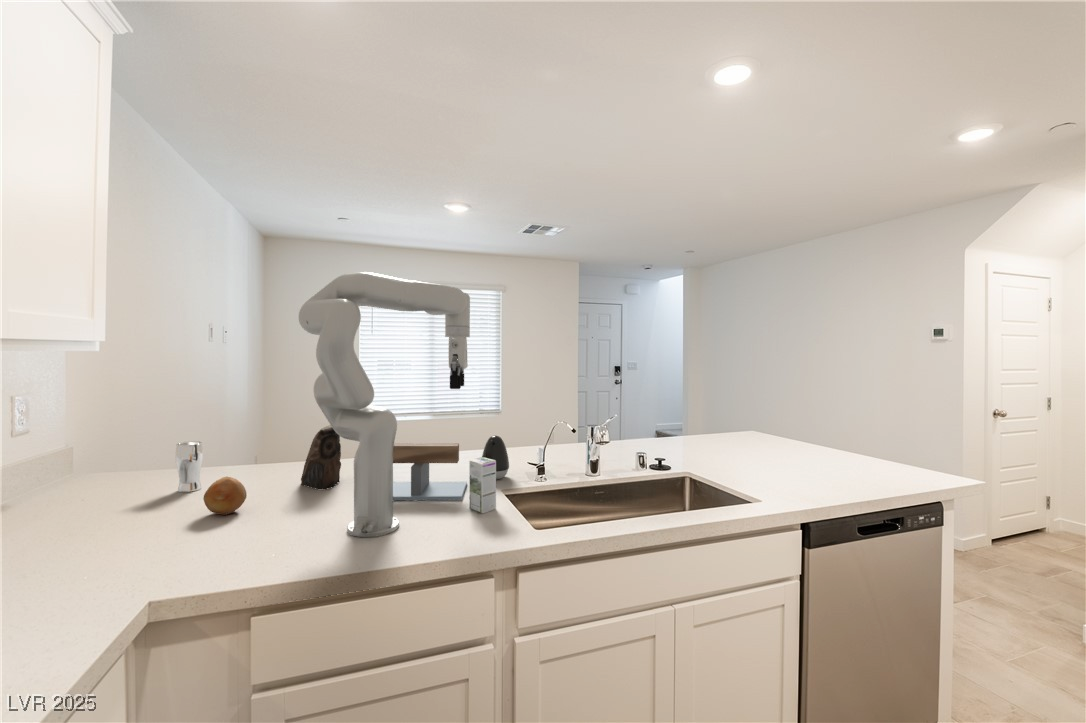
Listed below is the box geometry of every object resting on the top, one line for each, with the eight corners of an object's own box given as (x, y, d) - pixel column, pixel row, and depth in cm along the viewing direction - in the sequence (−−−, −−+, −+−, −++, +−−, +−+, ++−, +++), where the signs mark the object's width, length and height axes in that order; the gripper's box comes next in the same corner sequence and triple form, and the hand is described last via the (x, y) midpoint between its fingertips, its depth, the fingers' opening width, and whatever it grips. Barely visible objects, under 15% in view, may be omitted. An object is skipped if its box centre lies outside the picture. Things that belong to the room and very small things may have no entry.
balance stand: (461, 500, 147) (461, 467, 147) (368, 500, 146) (368, 468, 145) (466, 485, 163) (467, 455, 163) (383, 485, 162) (383, 455, 161)
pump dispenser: (476, 480, 168) (477, 437, 168) (485, 473, 179) (485, 432, 178) (505, 482, 167) (505, 439, 166) (511, 474, 177) (512, 433, 176)
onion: (199, 513, 133) (199, 477, 133) (240, 504, 141) (240, 471, 140) (208, 522, 127) (208, 485, 126) (251, 513, 134) (250, 477, 134)
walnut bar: (457, 463, 153) (457, 446, 152) (380, 463, 151) (380, 445, 151) (458, 460, 157) (459, 443, 156) (384, 460, 155) (384, 443, 155)
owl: (337, 477, 171) (337, 421, 170) (352, 485, 162) (352, 425, 161) (299, 484, 162) (299, 425, 161) (313, 492, 153) (312, 430, 152)
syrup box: (496, 509, 140) (497, 459, 139) (481, 514, 135) (481, 463, 135) (484, 504, 144) (484, 456, 143) (468, 509, 139) (468, 459, 139)
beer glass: (207, 488, 155) (206, 442, 155) (181, 494, 150) (181, 446, 149) (197, 485, 159) (196, 440, 159) (172, 490, 153) (171, 443, 153)
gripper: (466, 331, 141) (466, 390, 141) (472, 333, 158) (471, 385, 159) (440, 331, 140) (440, 390, 141) (449, 332, 158) (448, 385, 158)
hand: (457, 387), depth 150 cm, fingers open, 9 cm apart
